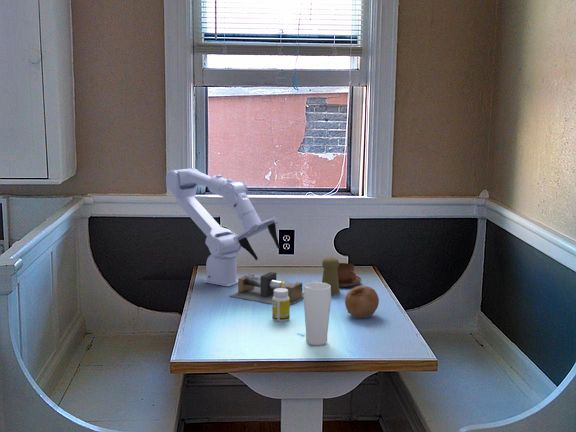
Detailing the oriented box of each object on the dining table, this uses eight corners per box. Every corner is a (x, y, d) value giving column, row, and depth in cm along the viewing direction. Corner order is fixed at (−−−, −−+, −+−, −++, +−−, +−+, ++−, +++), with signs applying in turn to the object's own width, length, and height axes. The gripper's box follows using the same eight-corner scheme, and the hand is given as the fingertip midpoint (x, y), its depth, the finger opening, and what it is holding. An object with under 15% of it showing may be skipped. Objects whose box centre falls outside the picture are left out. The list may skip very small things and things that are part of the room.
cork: (340, 290, 230) (340, 256, 228) (339, 295, 224) (340, 260, 222) (320, 289, 230) (321, 255, 228) (319, 294, 225) (320, 260, 223)
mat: (229, 296, 222) (229, 295, 222) (254, 285, 234) (254, 284, 234) (286, 307, 212) (286, 306, 212) (309, 295, 224) (309, 294, 224)
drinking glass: (301, 338, 187) (302, 282, 184) (328, 337, 188) (329, 281, 185) (304, 348, 180) (305, 289, 178) (331, 347, 181) (333, 289, 178)
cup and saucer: (367, 282, 239) (367, 264, 238) (350, 291, 229) (350, 272, 228) (335, 277, 245) (335, 259, 244) (317, 285, 235) (317, 267, 234)
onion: (358, 331, 202) (352, 304, 196) (342, 312, 209) (335, 286, 204) (387, 316, 204) (382, 289, 198) (370, 298, 212) (365, 272, 206)
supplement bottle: (291, 317, 203) (292, 288, 202) (286, 322, 199) (286, 293, 197) (275, 315, 205) (275, 286, 203) (269, 320, 200) (269, 291, 199)
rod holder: (238, 292, 225) (238, 277, 224) (249, 287, 230) (249, 272, 229) (291, 302, 216) (291, 286, 215) (302, 297, 221) (302, 281, 220)
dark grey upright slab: (260, 295, 221) (260, 276, 220) (270, 290, 226) (270, 271, 225) (266, 296, 220) (266, 277, 219) (276, 291, 225) (276, 272, 224)
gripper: (225, 222, 221) (245, 261, 218) (268, 201, 223) (288, 239, 220) (227, 229, 228) (247, 266, 224) (268, 208, 230) (289, 245, 226)
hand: (267, 253), depth 222 cm, fingers open, 7 cm apart
